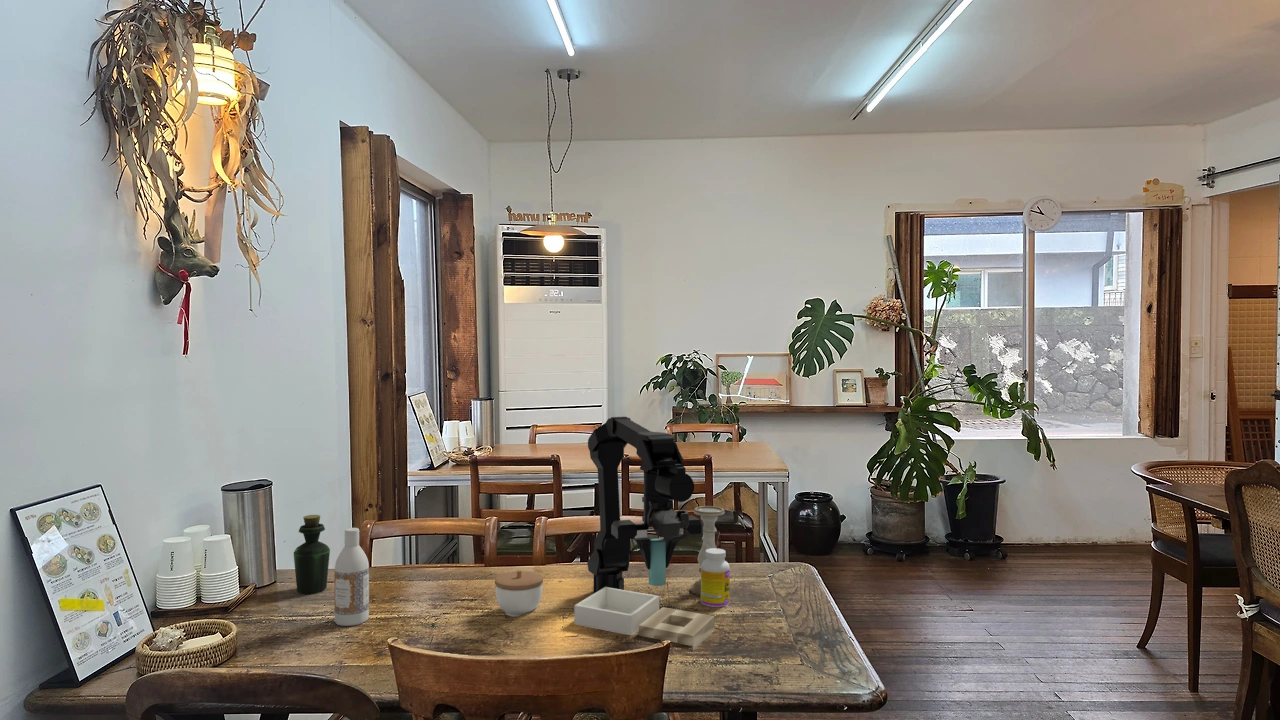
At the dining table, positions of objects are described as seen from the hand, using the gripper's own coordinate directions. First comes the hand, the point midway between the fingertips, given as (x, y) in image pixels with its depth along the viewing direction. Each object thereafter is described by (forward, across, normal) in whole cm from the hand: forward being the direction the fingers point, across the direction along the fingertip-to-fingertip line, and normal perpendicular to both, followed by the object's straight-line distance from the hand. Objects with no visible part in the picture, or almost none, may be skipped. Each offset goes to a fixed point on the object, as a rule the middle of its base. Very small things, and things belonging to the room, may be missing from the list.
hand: (657, 568), depth 155 cm
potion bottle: (+12, -72, +50) cm, 88 cm away
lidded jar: (+13, -26, +20) cm, 35 cm away
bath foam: (+13, -62, +25) cm, 68 cm away
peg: (+3, 0, 0) cm, 3 cm away
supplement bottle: (+14, +18, +11) cm, 25 cm away
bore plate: (+14, +4, -3) cm, 14 cm away
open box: (+13, -7, +7) cm, 16 cm away
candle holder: (+13, +21, +21) cm, 32 cm away
